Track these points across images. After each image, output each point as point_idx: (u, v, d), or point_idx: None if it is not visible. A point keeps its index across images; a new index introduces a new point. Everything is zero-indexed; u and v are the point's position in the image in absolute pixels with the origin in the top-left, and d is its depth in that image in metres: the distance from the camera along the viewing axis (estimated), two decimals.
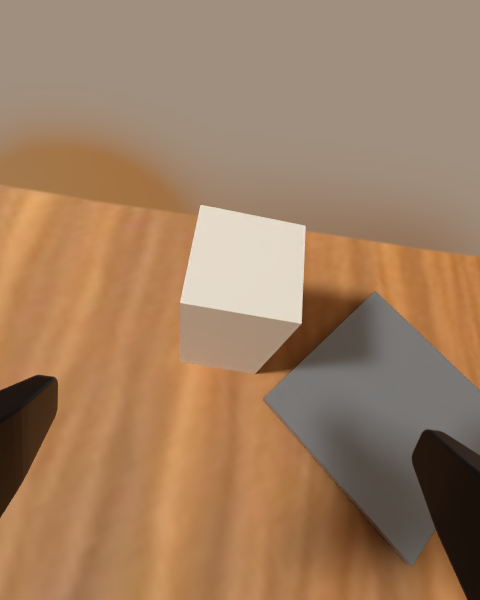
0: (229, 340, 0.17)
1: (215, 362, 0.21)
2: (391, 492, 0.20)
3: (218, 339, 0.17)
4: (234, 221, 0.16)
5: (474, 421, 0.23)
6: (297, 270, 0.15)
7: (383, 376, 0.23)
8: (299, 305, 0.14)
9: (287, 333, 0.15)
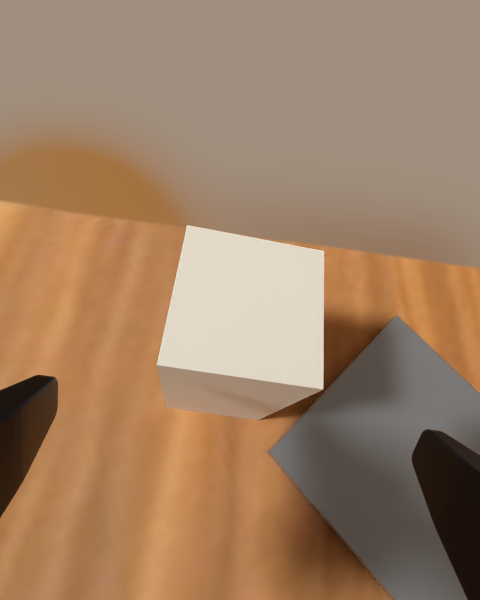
0: (226, 397, 0.13)
1: (210, 410, 0.17)
2: (425, 570, 0.17)
3: (211, 395, 0.13)
4: (231, 247, 0.12)
5: None
6: (315, 312, 0.11)
7: (410, 421, 0.20)
8: (319, 362, 0.11)
9: (302, 395, 0.12)
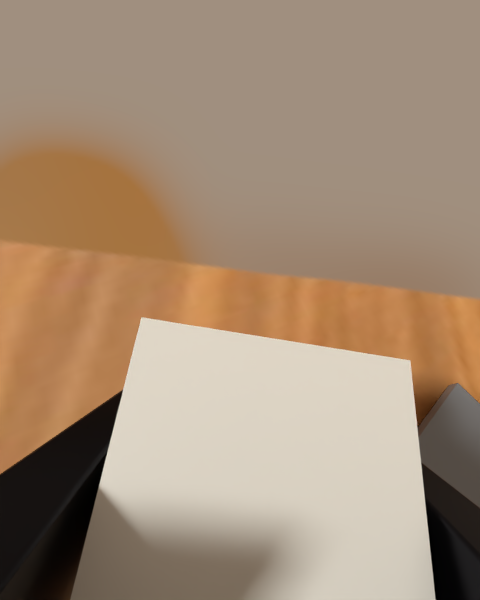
0: None
1: None
2: None
3: None
4: (231, 364, 0.06)
5: None
6: (410, 515, 0.05)
7: None
8: None
9: None
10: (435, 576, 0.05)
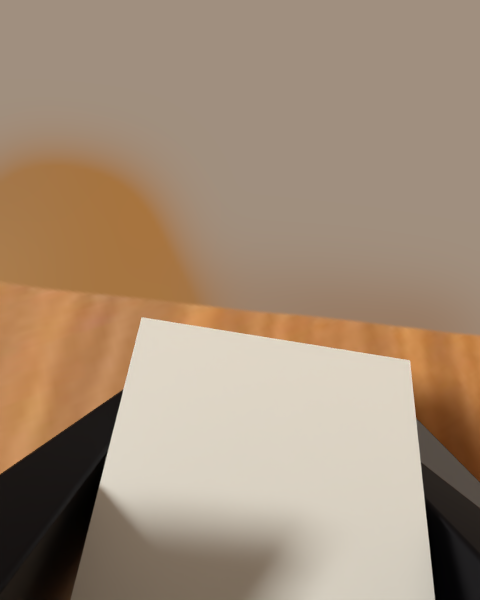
0: None
1: None
2: None
3: None
4: (231, 364, 0.06)
5: None
6: (409, 514, 0.05)
7: None
8: None
9: None
10: (435, 576, 0.05)
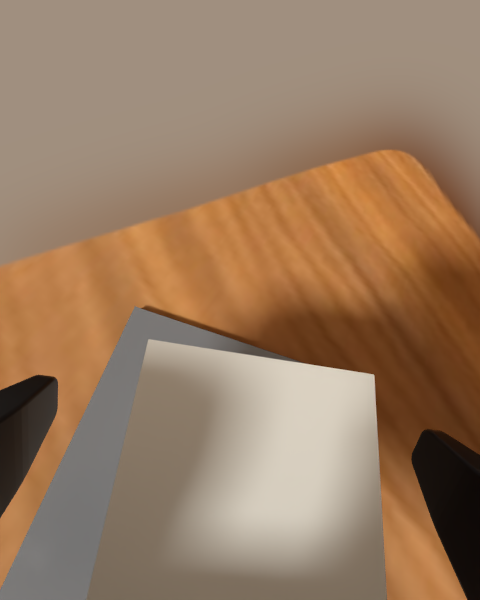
0: None
1: None
2: None
3: None
4: (222, 378, 0.07)
5: None
6: (367, 502, 0.07)
7: None
8: None
9: None
10: None
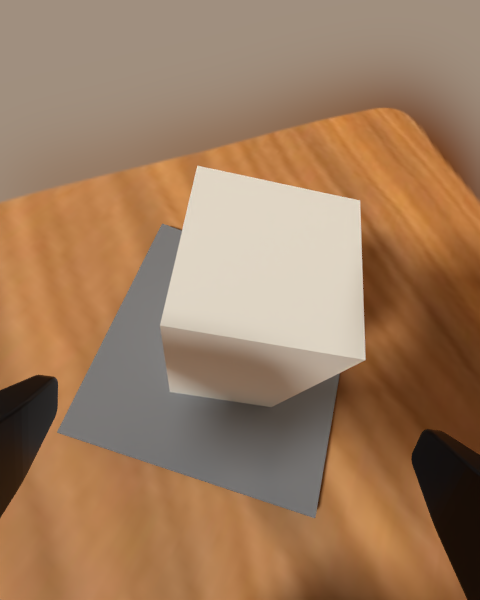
0: (240, 374, 0.11)
1: (218, 394, 0.15)
2: (262, 449, 0.16)
3: (223, 372, 0.11)
4: (250, 192, 0.10)
5: None
6: (352, 270, 0.09)
7: None
8: (360, 328, 0.09)
9: (335, 370, 0.10)
10: None
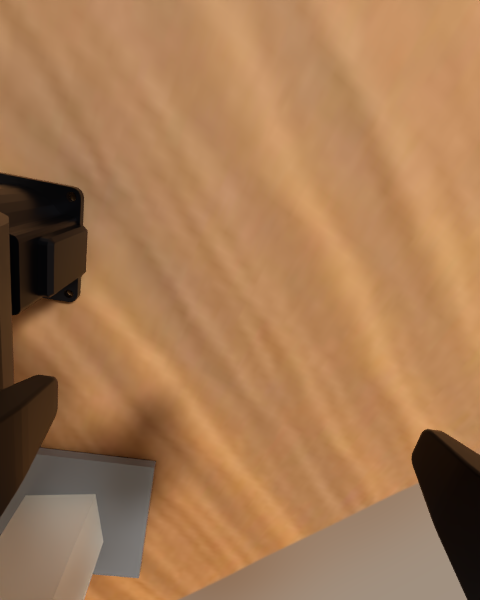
0: (14, 584, 0.20)
1: (56, 511, 0.24)
2: None
3: (25, 583, 0.20)
4: None
5: None
6: None
7: None
8: None
9: None
10: None
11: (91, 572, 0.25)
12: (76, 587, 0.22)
